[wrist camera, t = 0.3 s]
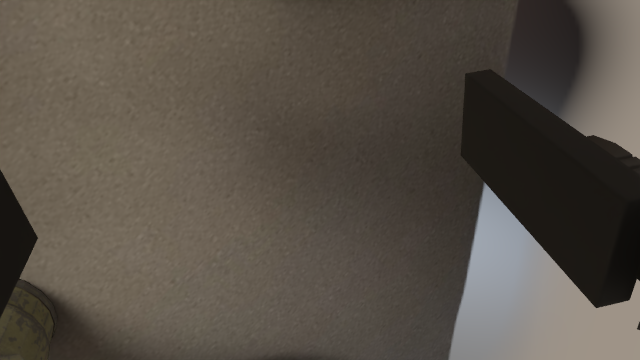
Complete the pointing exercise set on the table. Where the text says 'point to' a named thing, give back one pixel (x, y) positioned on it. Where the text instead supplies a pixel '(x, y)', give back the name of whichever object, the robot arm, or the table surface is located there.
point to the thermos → (27, 324)
